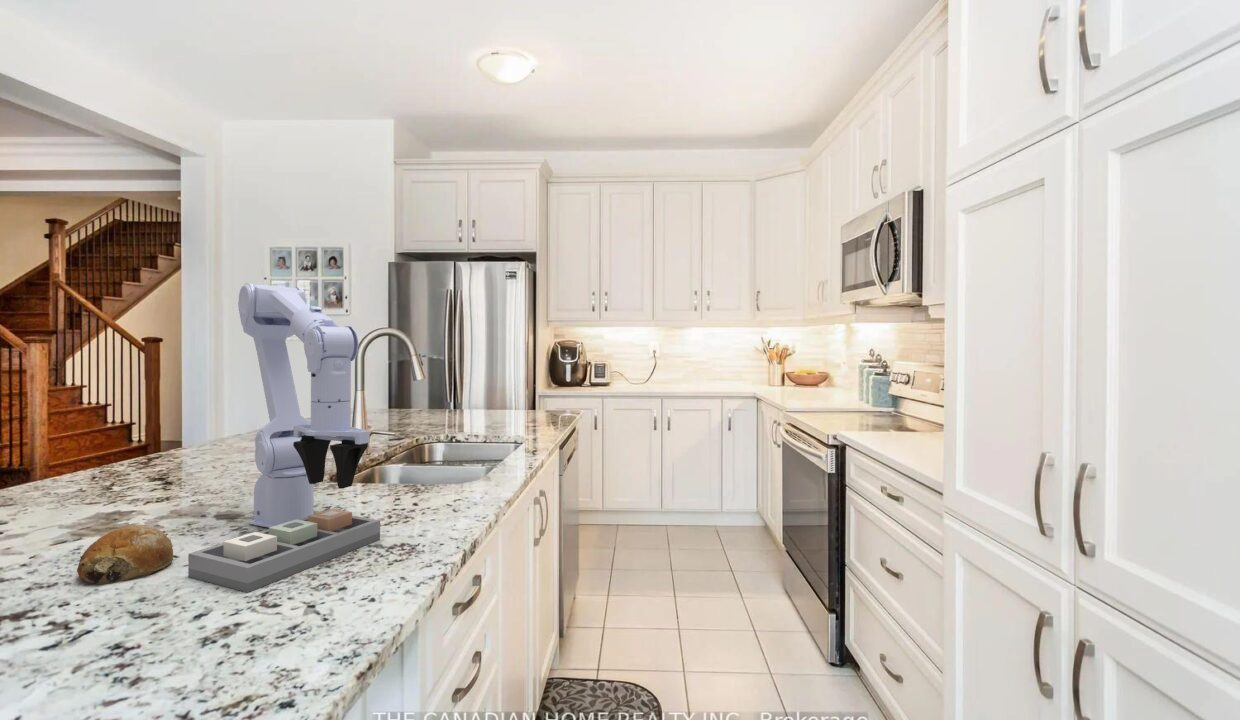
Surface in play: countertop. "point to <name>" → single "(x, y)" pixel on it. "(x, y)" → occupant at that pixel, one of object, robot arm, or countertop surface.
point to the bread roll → (125, 555)
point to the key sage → (294, 531)
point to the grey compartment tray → (280, 557)
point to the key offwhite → (250, 546)
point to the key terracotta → (331, 519)
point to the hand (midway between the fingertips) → (330, 484)
